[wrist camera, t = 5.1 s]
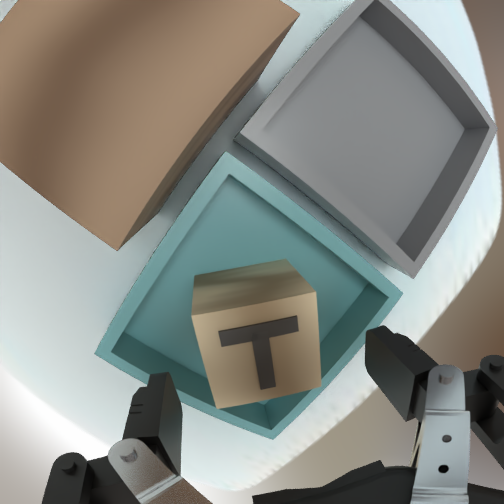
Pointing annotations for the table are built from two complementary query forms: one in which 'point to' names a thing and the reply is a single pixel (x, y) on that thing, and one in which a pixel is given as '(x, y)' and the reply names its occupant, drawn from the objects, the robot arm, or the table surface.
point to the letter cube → (257, 332)
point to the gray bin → (376, 132)
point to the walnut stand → (124, 96)
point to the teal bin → (233, 256)
